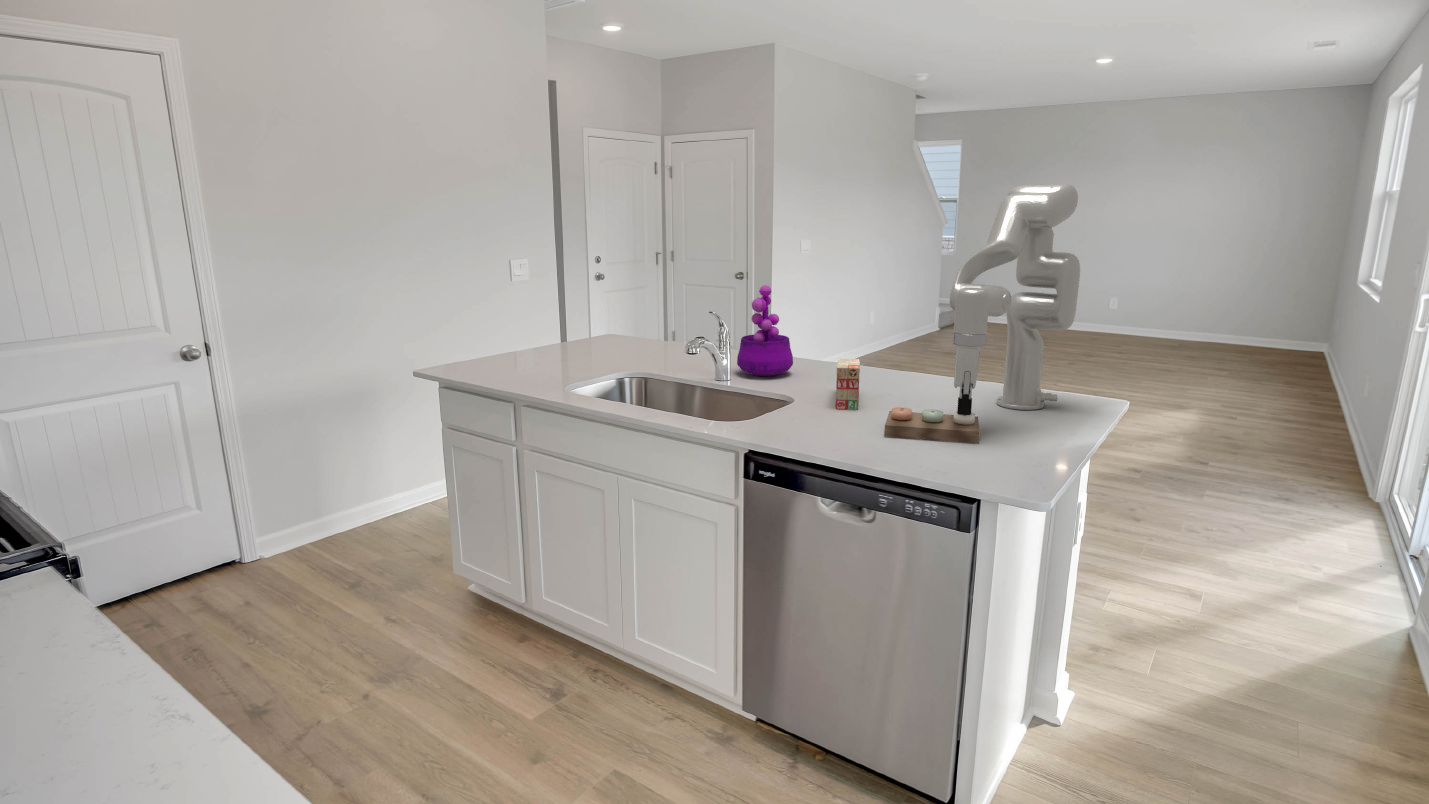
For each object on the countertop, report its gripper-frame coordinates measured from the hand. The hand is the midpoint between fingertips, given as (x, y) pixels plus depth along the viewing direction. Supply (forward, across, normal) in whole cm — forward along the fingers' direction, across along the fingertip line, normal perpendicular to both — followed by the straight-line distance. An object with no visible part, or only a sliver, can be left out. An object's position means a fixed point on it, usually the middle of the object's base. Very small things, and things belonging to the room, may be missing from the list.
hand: (964, 413), depth 191 cm
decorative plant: (+5, -56, -63) cm, 85 cm away
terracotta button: (+2, 0, -15) cm, 15 cm away
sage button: (+2, 0, -7) cm, 8 cm away
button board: (+5, 0, -7) cm, 9 cm away
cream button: (+2, 0, 0) cm, 2 cm away
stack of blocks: (+6, -28, -32) cm, 42 cm away
